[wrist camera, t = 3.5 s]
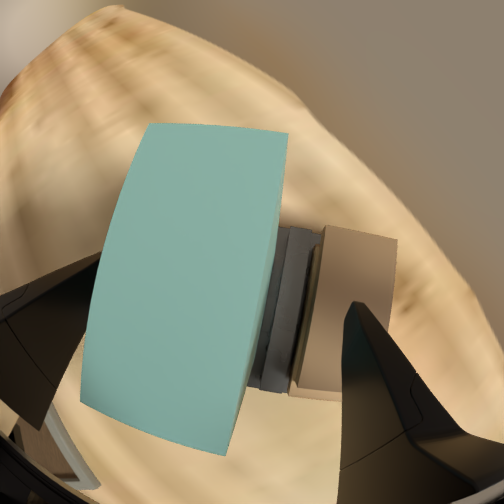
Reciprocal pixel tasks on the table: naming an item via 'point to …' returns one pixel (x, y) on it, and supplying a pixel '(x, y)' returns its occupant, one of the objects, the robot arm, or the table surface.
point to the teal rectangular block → (185, 282)
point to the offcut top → (344, 299)
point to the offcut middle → (292, 387)
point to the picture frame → (57, 452)
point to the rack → (283, 309)
